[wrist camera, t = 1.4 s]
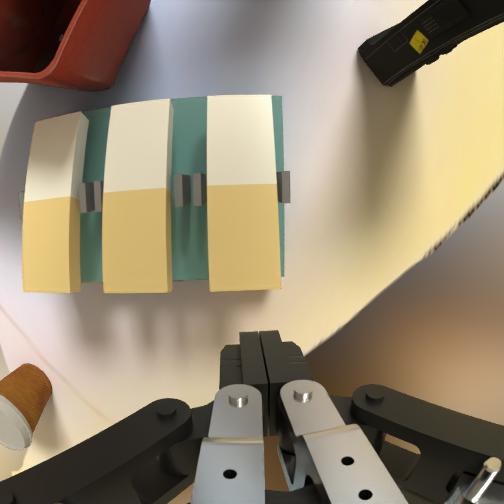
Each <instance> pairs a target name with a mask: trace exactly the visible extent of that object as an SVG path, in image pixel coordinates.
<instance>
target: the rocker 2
mask: <svg viewBox="0 0 504 504" xmlns="http://www.w3.org/2000/svg"><path fill="white" fill-rule="evenodd" d="M173 117H174V108H173V106H172V103H171V100H170V98H169V99H159V100H150V101H141V102H134V103H126V104H119V105H113V106H112V107H111V114H110V122H109V130H108V139H107V149H106V160H105V172H104V189H103V214H102V266H103V291H104V293H168V292H171V291H173V282H172V252H171V167H172V137H173Z"/></svg>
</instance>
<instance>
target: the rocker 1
mask: <svg viewBox="0 0 504 504" xmlns="http://www.w3.org/2000/svg"><path fill="white" fill-rule="evenodd" d="M88 124H89V120H88V119H87V118H86V117H85V116H84V115H83V114H82V113H81V111H80V112H75V113H70V114H65V115H61V116H56V117H52V118H48V119H44V120H40V121H36V122H35V125H34V130H33V136H32V141H31V147H30V154H29V160H28V168H27V176H26V185H25V195H24V209H23V228H22V277H23V292H45V293H73V292H79V291H81V276H80V200H79V183H82V178H83V166H84V156H85V147H86V139H87V132H88Z"/></svg>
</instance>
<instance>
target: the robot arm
mask: <svg viewBox="0 0 504 504" xmlns="http://www.w3.org/2000/svg"><path fill="white" fill-rule="evenodd" d="M239 336H240V345H226V346H225V347H224V348H223V350H222V351H221V356H220V383H219V391H218V392H217V393H216V395H215V400H214V401H212V402H211V403H209V404H207V405H204V406H201V407H197V408H192V409H190V407H189V406H188V405H187V404H186V403H185V402H183V401H181V400H178V399H173V398H165V399H160V400H156V401H154V402H152V403H150V404H148V405H147V406H145V407H143V408H142V409H140V410H138V411H137V412H135V413H133V414H131V415H130V416H128V417H126V418H125V419H123V420H121V421H119V422H118V423H116V424H114V425H112V426H110V427H109V428H107V429H105V430H103V431H102V432H100V433H98V434H96V435H94V436H92V437H91V438H89V439H87V440H85V441H83V442H81V443H79V444H77V445H76V446H74V447H72V448H70V449H68V450H66V451H64V452H62V453H60V454H58V455H56V456H54V457H52V458H50V459H48V460H46V461H44V462H42V463H40V464H38V465H36V466H34V467H32V468H29V469H27V470H25V471H23V472H21V473H19V474H17V475H14V476H12V477H10V478H8V479H6V480H3V481H1V482H0V504H167V503H168V502H169V501H171V500H172V499H173V498H175V497H176V496H177V495H178V494H180V493H181V492H182V491H183V490H185V489H186V488H187V487H188V486H190V485H191V484H192V483H193V482H194V487H193V493H192V498H191V502H190V503H188V504H504V426H502V425H499V424H495V423H491V422H488V421H485V420H482V419H478V418H475V417H472V416H468V415H465V414H462V413H459V412H456V411H453V410H450V409H447V408H444V407H441V406H438V405H435V404H432V403H429V402H426V401H423V400H420V399H418V398H415V397H412V396H409V395H407V394H403V393H401V392H398V391H396V390H393V389H390V388H388V387H385V386H381V385H376V384H370V385H364V386H361V387H359V388H357V389H356V390H355V391H354V393H353V396H352V397H339V396H332V395H329V394H327V392H326V391H325V389H324V388H323V387H322V386H321V385H320V384H318V383H316V382H314V380H313V378H312V375H311V373H310V370H309V368H308V365H307V363H306V361H305V358H304V356H303V353H302V351H301V349H300V347H299V346H297V345H296V344H295V343H294V342H292V341H291V342H282V341H281V338H280V335H279V332H278V330H274V331H259V334H258V331H257V332H239ZM267 427H268V430H269V436H274V435H277V437H278V455H279V458H280V461H281V465H282V468H283V471H284V474H285V478H286V481H287V484H288V487H289V492H284V491H272V490H265V483H264V436H267ZM386 434H389V435H392V436H394V437H396V438H399V439H401V440H404V441H406V442H409V443H411V444H413V445H415V446H417V447H418V448H419V450H420V452H421V454H416V453H413V452H411V451H408V450H406V449H403V448H401V447H399V446H396V445H394V444H391V443H389V442H387V441H384V440H385V437H386Z"/></svg>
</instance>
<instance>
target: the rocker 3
mask: <svg viewBox="0 0 504 504" xmlns="http://www.w3.org/2000/svg"><path fill="white" fill-rule="evenodd" d="M207 219H208V257H209V285H210V292H216V291H245V290H269V289H281V267H280V241H279V219H278V198H277V179H276V161H275V145H274V129H273V114H272V100H271V95H213V96H207Z"/></svg>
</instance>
